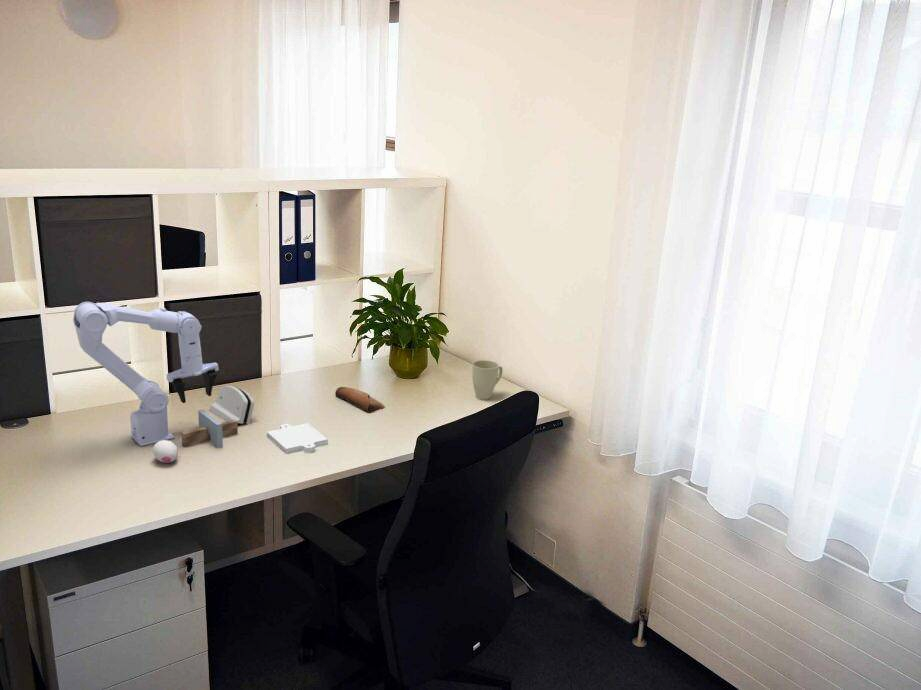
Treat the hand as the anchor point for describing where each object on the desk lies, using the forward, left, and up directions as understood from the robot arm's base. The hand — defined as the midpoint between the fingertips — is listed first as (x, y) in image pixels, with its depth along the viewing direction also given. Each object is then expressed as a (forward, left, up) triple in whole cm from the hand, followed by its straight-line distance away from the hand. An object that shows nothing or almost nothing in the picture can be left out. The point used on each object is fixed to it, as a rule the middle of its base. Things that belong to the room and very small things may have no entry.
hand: (196, 398), depth 226 cm
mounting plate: (+20, -23, -10) cm, 32 cm away
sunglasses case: (+52, -9, -10) cm, 54 cm away
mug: (+91, -28, -10) cm, 96 cm away
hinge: (+13, +3, -10) cm, 17 cm away
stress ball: (-15, -15, -10) cm, 23 cm away
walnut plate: (0, -9, -10) cm, 13 cm away
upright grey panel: (0, -9, -10) cm, 13 cm away
